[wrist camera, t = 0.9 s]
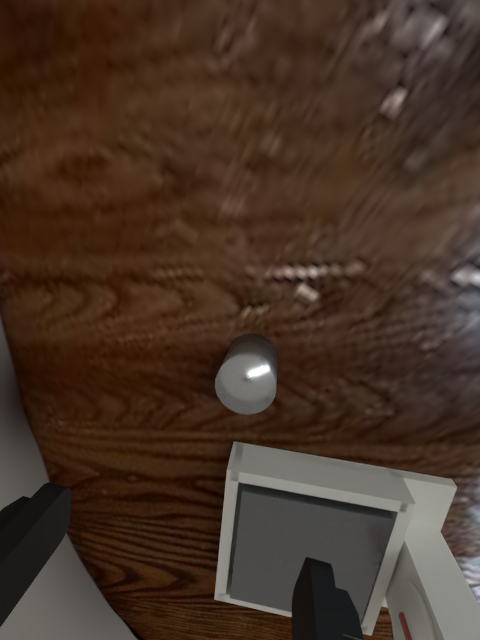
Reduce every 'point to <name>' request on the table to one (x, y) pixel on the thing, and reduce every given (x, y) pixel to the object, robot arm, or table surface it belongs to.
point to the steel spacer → (248, 375)
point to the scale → (401, 547)
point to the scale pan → (304, 545)
